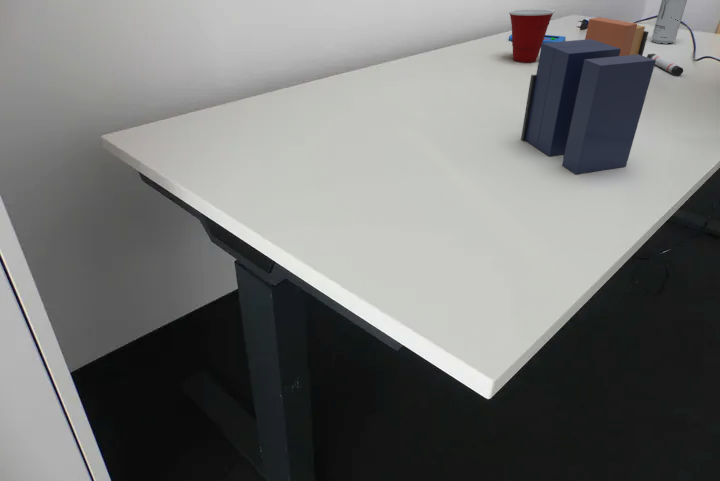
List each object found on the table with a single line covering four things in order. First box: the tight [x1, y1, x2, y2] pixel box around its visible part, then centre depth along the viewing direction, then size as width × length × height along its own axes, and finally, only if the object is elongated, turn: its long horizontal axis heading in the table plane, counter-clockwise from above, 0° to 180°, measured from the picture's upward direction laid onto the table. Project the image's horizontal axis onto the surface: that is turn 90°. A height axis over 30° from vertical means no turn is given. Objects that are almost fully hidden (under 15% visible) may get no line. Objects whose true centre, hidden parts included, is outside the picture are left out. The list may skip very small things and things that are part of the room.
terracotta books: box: [584, 16, 650, 56], centre depth 117 cm, size 8×10×13 cm
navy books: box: [520, 39, 621, 157], centre depth 86 cm, size 8×10×16 cm
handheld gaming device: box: [508, 33, 567, 43], centre depth 155 cm, size 8×1×15 cm
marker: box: [646, 53, 684, 77], centre depth 130 cm, size 15×2×2 cm, turn 1°
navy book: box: [561, 54, 656, 175], centre depth 79 cm, size 4×9×16 cm, turn 107°
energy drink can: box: [651, 0, 688, 45], centre depth 148 cm, size 6×6×15 cm
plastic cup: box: [508, 8, 555, 64], centre depth 134 cm, size 11×11×12 cm
